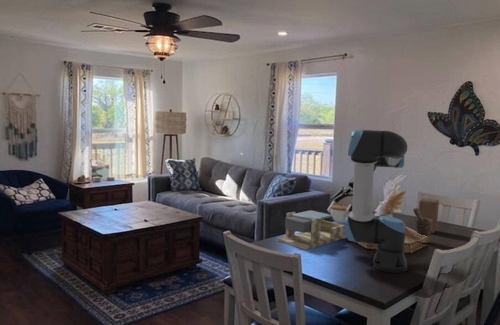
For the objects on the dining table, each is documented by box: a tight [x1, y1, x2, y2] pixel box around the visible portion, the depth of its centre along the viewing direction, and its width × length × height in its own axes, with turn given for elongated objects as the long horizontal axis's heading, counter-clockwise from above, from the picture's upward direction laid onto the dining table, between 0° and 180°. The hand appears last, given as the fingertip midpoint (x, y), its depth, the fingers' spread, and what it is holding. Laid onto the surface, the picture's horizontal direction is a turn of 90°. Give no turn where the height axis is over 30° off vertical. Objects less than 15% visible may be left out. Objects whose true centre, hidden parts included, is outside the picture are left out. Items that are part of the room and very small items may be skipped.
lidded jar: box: [330, 202, 349, 223], centre depth 215 cm, size 11×11×9 cm
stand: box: [277, 211, 346, 251], centre depth 232 cm, size 35×20×15 cm, turn 133°
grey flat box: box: [284, 209, 332, 233], centre depth 229 cm, size 24×16×7 cm, turn 133°
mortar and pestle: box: [413, 207, 433, 242], centre depth 231 cm, size 12×9×20 cm
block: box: [418, 198, 440, 234], centre depth 257 cm, size 10×10×20 cm
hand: (336, 213), depth 214 cm, fingers closed on lidded jar, 11 cm apart
